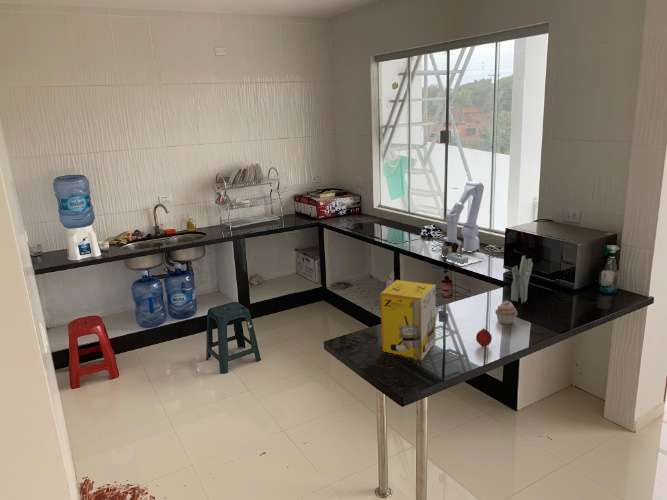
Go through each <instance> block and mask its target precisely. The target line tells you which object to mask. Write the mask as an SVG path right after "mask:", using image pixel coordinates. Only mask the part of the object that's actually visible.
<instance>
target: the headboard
mask: <svg viewBox="0 0 667 500" xmlns="http://www.w3.org/2000/svg"><path fill="white" fill-rule="evenodd" d="M458 256H459V257H458ZM460 256H462V257H460ZM446 259H448V260H451V261H454V262H457V263H460V264H464V263H468V260H472V261H473V260H474V261H475V260H477V261H480V260H482V259H480V258H478V257H474V256H471V255H467V254H462V255H458V254H457V253H450V254H447V258H446Z"/></svg>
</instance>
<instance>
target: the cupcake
mask: <svg viewBox="0 0 667 500" xmlns="http://www.w3.org/2000/svg"><path fill="white" fill-rule="evenodd" d="M495 315H496V316H497V317H496V318H497V322H498V323H499V324H501V325H506V326H507V325H508V326H510V325H512V324H514V322H515V319H516V317H517V316H518V311H517V309H516V308H515V306H514V304H513V303H512V302H511V301H509V300H504V301H502V303H501V304H499V305H498V306H497V308H496V309H495Z"/></svg>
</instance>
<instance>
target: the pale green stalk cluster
mask: <svg viewBox="0 0 667 500" xmlns="http://www.w3.org/2000/svg"><path fill="white" fill-rule="evenodd" d="M520 260H521V261H520V265H519V269H518V265H515V266H512V268H511V274H512V278H513V279H512V283H511V287H510V289H511V290H510V291H511V292H510V301H514V302H517V303H518V302H519V299H520V303H521V304H523V303H526V302H527V300H528V287H529V283H530V282H529V281H530V276H531V274H532V270H533V265H534V262H533V259H532V258H526V255H522V256H521V259H520Z"/></svg>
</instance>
